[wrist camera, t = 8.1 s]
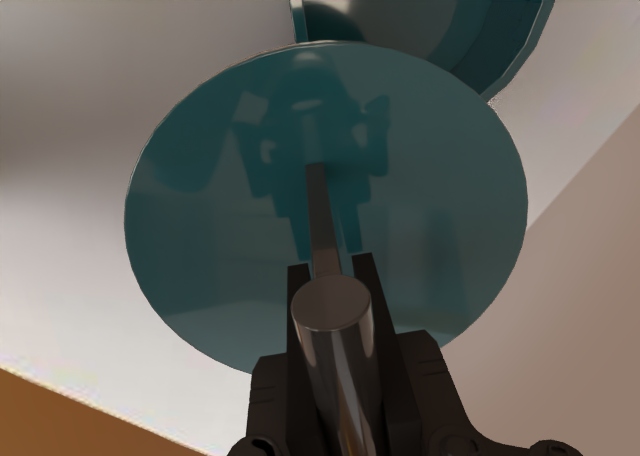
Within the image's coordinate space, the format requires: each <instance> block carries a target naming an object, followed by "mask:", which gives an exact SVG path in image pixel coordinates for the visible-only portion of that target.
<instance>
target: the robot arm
mask: <svg viewBox="0 0 640 456" xmlns="http://www.w3.org/2000/svg"><path fill="white" fill-rule="evenodd" d="M351 258H352V265H353V272H354V278H356V279H358V280H360V281H361V282H362V283H364V284H365V286H366V287H367V288H368V290H369V292H370V294H371V301H372V309H373V317H374V325H375V334H376V342H377V350H378V358H379V366H380V375H381V383H382V391H383V407H384V415H385V423H386V431H387V439H388V447H389V455H390V456H583V455H582V454H581V453H580V452H579V451H578V450H576V449H575V448H573V447H571V446H569V445H568V444H566V443H563V442H559V441H555V440H542V441H538V442H537V443H535V444H534V445H532V446H531V447H530V449H527V448H522V447H515V446H510V445H505V444H501V443H497V442H494V441H492V440H490V439H488V438H486V437H485V436H483V435H482V434H481V433H479V432H478V431H477V430H476V429H475V428H474V426H473V425H472V424H471V422H470V421H469V419H468V417H467V415H466V413H465V410H464V408H463V405H462V402H461V400H460V398H459V395H458V393H457V390H456V388H455V385H454V383H453V380H452V378H451V375H450V373H449V371H448V368H447V365H446V363H445V361H444V359H443V356H442V353H441V351H440V348H439V346H438V343H437V341H436V340H435V339H434V338H433V337H432V336H431V335H430V334H429V333H428V332H427V331H426V330H425V329H424V330H418V331H411V332H405V333H399V334H396V333H395V329H394V326H393V322H392V319H391V316H390V312H389V309H388V306H387V302H386V299H385V296H384V292H383V289H382V285H381V282H380V279H379V275H378V272H377V269H376V265H375V262H374V259H373V255H372V252H370V253H364V254H358V255H352V256H351ZM310 280H311V276H310V271H309V267H308V263H304V264H298V265H292V266H287V345H286V353H280V354H274V355H268V356H261V357H260V358H259V359H258V361H257V363H256V365H255V367H254V369H253V371H252V378H251V390H250V398H249V401H250V403H249V408H248V418H247V428H246V437H244V438H242V439H240V440H239V441H238V442H237V443H236V444H235V445H234V446H232V448H231V450H230V451H229V453H228V455H227V456H330V453H329V449H328V446H327V442H326V438H325V435H324V431H323V427H322V424H321V420H320V416H319V413H318V409H317V405H316V402H315V398H314V395H313V391H312V387H311V384H310V380H309V376H308V373H307V369H306V365H305V362H304V358H303V354H302V351H301V347H300V343H299V340H298V336H297V332H296V329H295V325H294V321H293V318H292V314H291V302H292V299H293V296H294V295H295V293H296V292H297V290H298V289H299V288H300V287H301V286H303V285H304V284H305V283H307V282H309V281H310Z"/></svg>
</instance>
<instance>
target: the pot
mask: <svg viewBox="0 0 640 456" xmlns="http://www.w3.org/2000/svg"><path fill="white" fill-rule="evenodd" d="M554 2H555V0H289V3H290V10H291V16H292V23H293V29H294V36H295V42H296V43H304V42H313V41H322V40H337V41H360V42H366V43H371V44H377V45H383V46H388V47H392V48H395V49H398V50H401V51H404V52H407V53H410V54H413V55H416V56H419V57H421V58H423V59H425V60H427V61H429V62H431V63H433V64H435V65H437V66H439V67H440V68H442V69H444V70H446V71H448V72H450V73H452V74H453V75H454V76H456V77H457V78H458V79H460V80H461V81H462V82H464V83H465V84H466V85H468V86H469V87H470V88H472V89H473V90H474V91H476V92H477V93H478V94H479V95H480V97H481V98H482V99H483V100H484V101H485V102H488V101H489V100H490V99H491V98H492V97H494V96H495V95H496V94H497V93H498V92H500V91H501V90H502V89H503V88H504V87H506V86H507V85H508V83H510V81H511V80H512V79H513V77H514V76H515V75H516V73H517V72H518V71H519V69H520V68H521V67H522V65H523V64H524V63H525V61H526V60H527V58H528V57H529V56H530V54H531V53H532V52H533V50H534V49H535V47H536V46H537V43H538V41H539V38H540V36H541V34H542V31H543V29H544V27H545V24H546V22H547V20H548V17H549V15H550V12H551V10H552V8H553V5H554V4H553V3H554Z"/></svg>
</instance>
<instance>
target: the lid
mask: <svg viewBox="0 0 640 456" xmlns="http://www.w3.org/2000/svg"><path fill="white" fill-rule="evenodd" d="M527 213H528V195H527V185H526V177H525V174H524V170H523V166H522V162H521V159H520V155H519V153H518V151H517V149H516V146H515V144H514V142H513V140H512V138H511V135H510V133H509V132H508V130H507V129H506V127H505V126H504V124H503V123H502V121H501V120H500V118H499V117H498V115H497V114H496V113H495V111H494V110H493V109H492V108H491V107H490V106H489V105H488V104H487V103H486V102H485V101H484V100H483V99H482V98H481V97H480V95H479V94H478V93H477V92H476V91H474V90H473V89H472V88H470V87H469V86H468V85H466V84H465V83H464V82H462V81H461V80H460V79H458V78H457V77H456V76H454V75H453V74H452V73H450V72H448V71H446V70H444V69H442V68H440V67H439V66H437V65H435V64H433V63H431V62H429V61H427V60H425V59H423V58H421V57H419V56H416V55H413V54H410V53H407V52H404V51H401V50H398V49H395V48H392V47H388V46H383V45H377V44H371V43H366V42H360V41H337V40H322V41H313V42H304V43H296V44H290V45H286V46H282V47H278V48H274V49H271V50H267V51H263V52H259V53H257V54H255V55H252V56H250V57H248V58H245V59H243V60H240V61H238V62H236V63H233V64H231V65H229V66H227V67H226V68H224V69H222V70H221V71H219V72H217V73H216V74H214V75H212V76H211V77H209V78H208V79H206V80H204V81H203V82H201V83H200V84H199V85H198V86H197V87H195V88H194V89H193V90H192V91H191V92H189V93H188V94H187V95H186V96H185V97H183V98H182V99H181V100H180V101H179V102H178V103H177V104H176V105H175V106H174V107H173V108H172V110H171V111H170V112H169V113H168V114H167V115H166V116H165V118H164V119H163V120H162V121H161V122H160V123H159V124H158V126H157V127H156V128H155V130H154V131H153V133H152V135H151V136H150V138H149V139H148V141H147V143H146V144H145V146H144V147H143V149H142V150H141V153H140V155H139V157H138V160H137V162H136V165H135V167H134V169H133V172H132V174H131V178H130V182H129V186H128V190H127V195H126V199H125V212H124V231H125V241H126V249H127V252H128V256H129V260H130V264H131V267H132V270H133V273H134V275H135V277H136V280H137V282H138V284H139V286H140V289H141V290H142V292H143V294H144V295H145V297H146V298H147V300H148V302H149V303H150V305H151V306H152V308H153V309H154V310H155V311H156V313H157V314H158V315H159V316H160V317H161V319H162V320H163V321H164V322H165V323H166V324H167V325H168V326H169V327H170V328H171V329H172V330H173V331H174V332H175V333H176V334H177V335H178V336H179V337H181V338H182V339H183V340H185V341H186V342H187V343H189V344H190V345H191V346H193V347H194V348H195V349H197V350H198V351H200V352H202V353H204V354H205V355H207V356H209V357H210V358H212V359H214V360H216V361H218V362H220V363H223V364H225V365H227V366H229V367H231V368H234V369H237V370H240V371H243V372H246V373H249V374H252V371H253V369H254V367H255V365H256V363H257V361H258V359H259V358H260V357H261V356H268V355H274V354H280V353H286V345H287V266H292V265H298V264H304V263H308V267H309V271H310V276H311V280H310V281H309V282H307V283H305V284H304V285H303V286H301V287H300V288H299V289H298V290H297V292H296V293H295V295H294V296H293V299H292V302H291V314H292V318H293V321H294V325H295V329H296V332H297V336H298V340H299V343H300V347H301V351H302V354H303V358H304V362H305V365H306V369H307V373H308V376H309V380H310V384H311V387H312V391H313V395H314V398H315V402H316V405H317V409H318V413H319V416H320V420H321V424H322V427H323V431H324V435H325V438H326V442H327V446H328V449H329V453H330V456H390V455H389V447H388V439H387V431H386V423H385V415H384V407H383V391H382V383H381V375H380V366H379V358H378V350H377V342H376V334H375V325H374V317H373V309H372V301H371V294H370V292H369V290H368V288H367V287H366V286H365V284H364V283H362V282H361V281H360V280H358V279H356V278H354V272H353V265H352V258H351V256H352V255H358V254H364V253H370V252H372V255H373V259H374V262H375V265H376V269H377V272H378V275H379V279H380V282H381V285H382V289H383V292H384V296H385V299H386V302H387V306H388V309H389V312H390V316H391V319H392V322H393V326H394V329H395V333H396V334H399V333H405V332H411V331H418V330H424V329H425V330H426V331H427V332H428V333H429V334H430V335H431V336H432V337H433V338H434V339H435V340H436V341H437V343H438V346H439V348H442V347H443V346H445V345H446V344H448V343H449V342H451V341H452V340H453V339H455V338H456V337H457V336H459V335H460V334H461V333H463V332H464V331H465V330H466V329H467V328H468V327H469V326H470V325H472V324H473V323H474V322H475V321H476V320H477V319H478V318H479V317H480V316H481V315H482V314H483V312H485V310H486V309H487V308H488V307H489V306H490V304H492V302H493V301H494V300H495V298H496V297H497V295H498V294H499V292H500V291H501V290H502V288H503V287H504V285H505V284H506V281H507V280H508V278H509V276H510V274H511V272H512V270H513V268H514V266H515V264H516V261H517V258H518V256H519V253H520V250H521V248H522V244H523V240H524V235H525V230H526V226H527Z"/></svg>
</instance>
